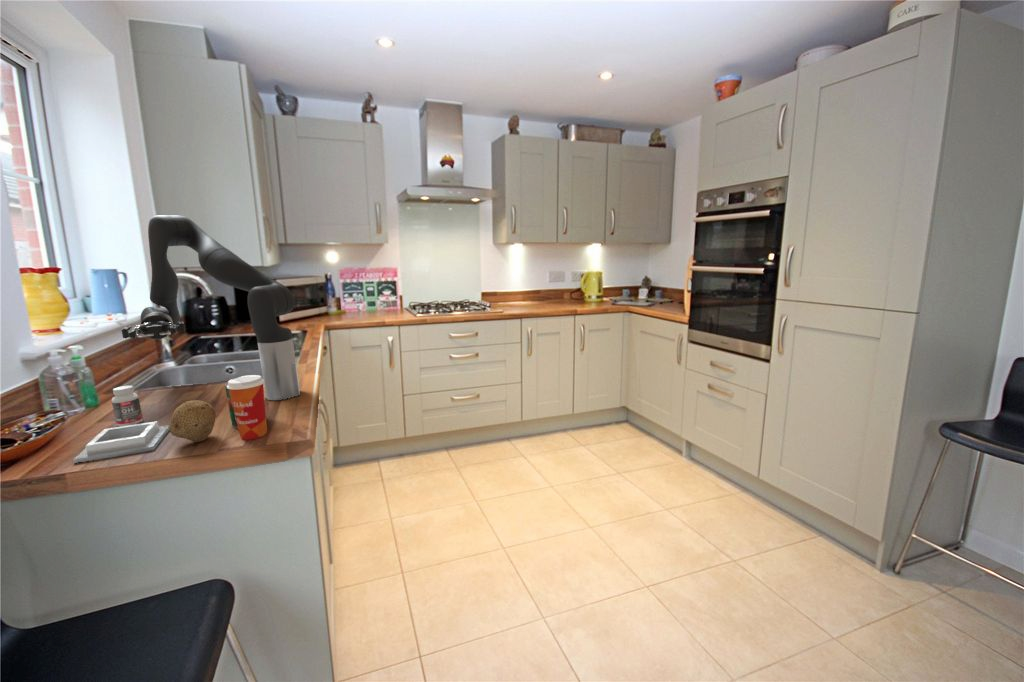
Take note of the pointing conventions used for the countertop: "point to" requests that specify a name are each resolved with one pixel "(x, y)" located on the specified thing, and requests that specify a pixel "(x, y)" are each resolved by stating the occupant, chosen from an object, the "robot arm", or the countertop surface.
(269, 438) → the countertop surface
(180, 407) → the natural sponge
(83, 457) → the duct collar
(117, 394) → the pill bottle
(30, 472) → the countertop surface
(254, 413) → the paper cup
